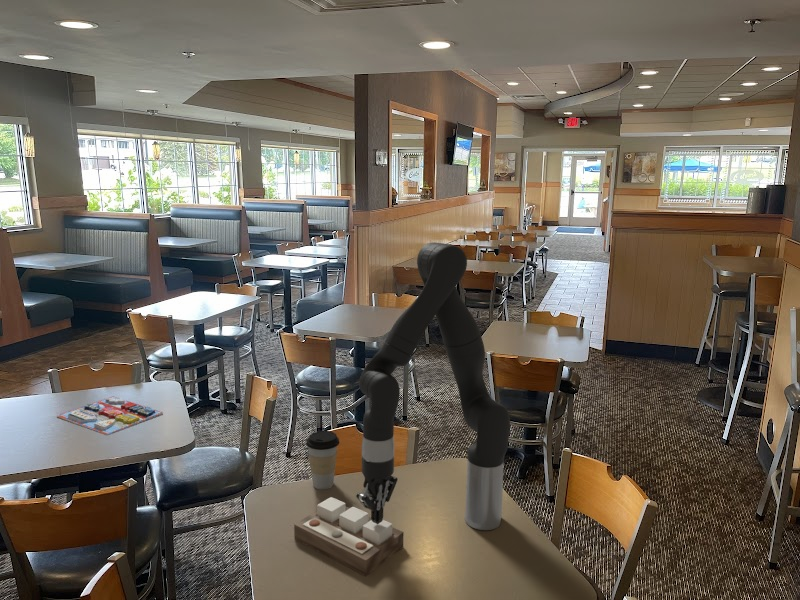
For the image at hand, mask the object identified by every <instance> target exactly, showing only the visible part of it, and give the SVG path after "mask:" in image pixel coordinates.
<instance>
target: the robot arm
mask: <svg viewBox="0 0 800 600" xmlns="http://www.w3.org/2000/svg"><path fill="white" fill-rule="evenodd" d="M416 261H417V262H416V264H417V270H418V273H419V275H420V278H421V280H422V283H423V285H424V286H423V288H422V290H421V292H420V293H419V294H418V295H417V297H416V299H415V300H413V302H412V303H411V304H410V305H409V306H408V307H407V308H406V309H405V310H404V311H403V312H402V313H401V314H400V316H398V318H397V320H396V321H395V323H394V324H393V325H392V326H391V329H390V331H389V332H388V334H387V336H386V339H385V340H384V342H383V344H382V347H381V348H380V349H379V350H378V351H377V352H376V353H375V354H374V356H373V357H372V358H371V360H370V361H369V362H367V364H366V365H365V367H364V368H363V370H362V372H361V373H360V377H359V380H358V381H359V382H358V386H359V390H360V392H361V393H362V394H363V395H364V396H366V397H367V398H369V400H370V408H369V409H368V410H366V411H365V412H364V414H363V420H362V421H363V422H362V441H361V474H363V476H364V477H363V478H364V482H363V484H362V485H363V489H362V492H361V493H360V492H358V493H356V498H357V500H358V501H359V502H360V503H361V504H362V505H363V507H364V508H365V509H368V510H370V513H371V514H370V517H371V520H372V522H374V523H376V524H379V523H380V522H382V521H383V520H384V507H385V505H386V503H389V502H390V500H391V497H392V496H393V493H394V489H395V487H396V485H397V483H398V477H396V476H393V474H394V472H395V438H394V435H395V434H394V432H395V431H394V429H395V428H394V424H395V423H394V422H395V421H394V418H395V416H396V413H397V408H398V405H399V401H400V396H401V395H400V391H401V390H400V385H399V382H398V379H396V377H394V376H393V375H392V374H393V373H394V371H395V370H396V369H397V368H398V367H405V366H407V365H408V364H409V362H410V360H411V358H412V356H413V355H414V352H415V351H416V349H417V347H418V346H419V343H420V341H421V339H422V337H423V336H424V333H425V332H426V330H427V328H428V327H429V326H430V323H431V322H432V320H433V319H434V318H436V322H437V325H438V327H439V331H440V335H441V338H442V342H443V345H444V348H445V352H446V355H447V358H448V361H449V363H450V367H451V370H452V375H453V376H454V380H455V382H456V386H457V389H458V393H459V400H460V405H461V411H462V415H463V419H464V421H465V424H467V426H468V427H469V428H470V429H471V430H473V431H474V432H475V433H476V443H472V445H470V446H469V447H468V449H467V460H466V461H467V464H466V484H465V485H466V491H465V511H464V512H465V514H464V515H465V516H464V521H465V523H466V524H467V525H468V526H469V527H470V528H473V529H475V530H479V531H490V530H491V531H492V530H495V529H498V527H499V526H500V525H501V520H502V519H501V518H502V513H503V512H502V509H503V492H504V490H503V489H504V484H503V482H504V481H503V480H504V464H505V463H504V462H505V461H504V460H505V456H506V453H507V451H508V448H509V438H510V431H511V428H510V427H511V417H510V413H509V410H508V409H507V408H506V406H504V405H502V404H501V403H500V402H498V401H496V400H494V399H493V398H492V397H491V396H490V393H489V391H488V389H487V386H486V382H485V380H484V373H483V372H484V367H485V366H484V365H485V361H486V360H485V359H486V351H485V345H484V341H483V337H482V335H481V334H482V333H481V331H480V327H479V326H478V325H479V324H478V323H477V321H476V319H475V318H474V316H473V314H472V313H471V312H470V310H469V308H468V307H467V305H466V304H465V302H464V301H463V299H462V298H461V296H460V294H459V292H458V291H459V290H458V288H457V286H458V284H459V283H460V281H461V280H462V279H463V277H464V275H465V273H466V271H467V266H468V259H467V255H466V254H465V251H464V250H463V249H462V248H461V247H459V246H457V245H453V244H449V243H443V242H428V243H425V244H424V245H423V246H422V247H421V248H420V249H419V252H418V254H417V258H416Z"/></svg>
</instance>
